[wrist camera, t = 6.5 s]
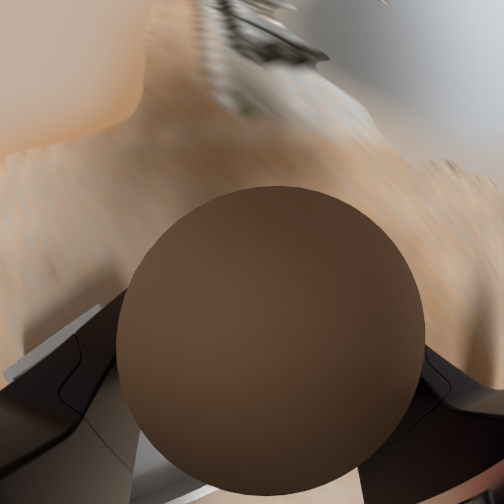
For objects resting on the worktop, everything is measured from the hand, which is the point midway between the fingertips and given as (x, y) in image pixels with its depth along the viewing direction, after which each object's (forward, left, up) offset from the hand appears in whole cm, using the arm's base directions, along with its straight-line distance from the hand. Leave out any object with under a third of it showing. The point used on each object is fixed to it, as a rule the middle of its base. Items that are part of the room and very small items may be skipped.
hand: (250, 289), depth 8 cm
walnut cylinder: (-1, -1, -7) cm, 7 cm away
